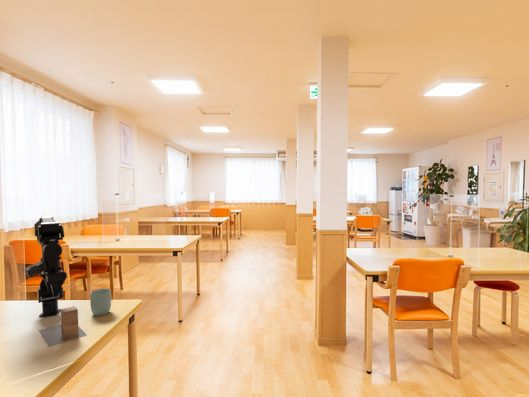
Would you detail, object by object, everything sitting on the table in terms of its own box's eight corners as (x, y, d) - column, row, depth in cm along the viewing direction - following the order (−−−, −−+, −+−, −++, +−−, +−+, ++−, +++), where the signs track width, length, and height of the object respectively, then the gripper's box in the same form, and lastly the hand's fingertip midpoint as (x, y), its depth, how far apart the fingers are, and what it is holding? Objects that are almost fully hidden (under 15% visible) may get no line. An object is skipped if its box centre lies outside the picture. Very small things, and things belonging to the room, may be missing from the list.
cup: (103, 318, 137) (102, 294, 137) (86, 317, 139) (85, 293, 138) (115, 311, 145) (114, 288, 144) (99, 310, 146) (98, 288, 146)
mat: (38, 331, 126) (38, 330, 126) (73, 322, 134) (73, 321, 134) (48, 347, 113) (48, 346, 113) (87, 336, 121) (87, 335, 121)
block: (61, 336, 121) (60, 309, 120) (75, 332, 124) (74, 305, 123) (64, 340, 117) (63, 312, 117) (78, 336, 120) (77, 309, 120)
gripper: (21, 254, 130) (23, 293, 131) (30, 261, 116) (32, 305, 117) (54, 249, 138) (55, 287, 138) (66, 256, 124) (68, 297, 125)
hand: (52, 294), depth 129 cm, fingers open, 9 cm apart
